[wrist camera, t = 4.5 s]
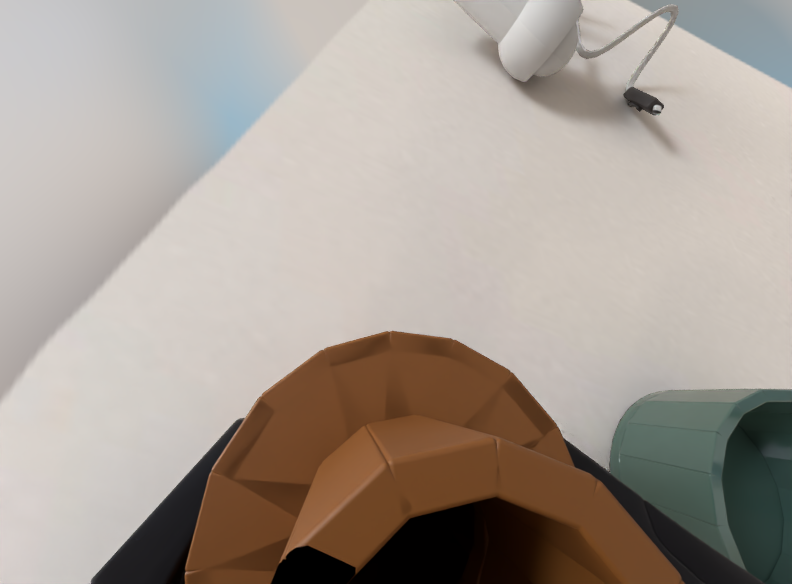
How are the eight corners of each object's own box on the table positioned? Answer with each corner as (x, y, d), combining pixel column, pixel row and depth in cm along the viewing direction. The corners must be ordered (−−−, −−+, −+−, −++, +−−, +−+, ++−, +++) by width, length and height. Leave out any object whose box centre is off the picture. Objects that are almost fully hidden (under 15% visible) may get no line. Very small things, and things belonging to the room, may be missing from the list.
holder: (802, 494, 16) (967, 530, 12) (723, 656, 13) (901, 780, 9) (669, 355, 18) (774, 342, 13) (573, 477, 15) (665, 510, 11)
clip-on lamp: (620, 95, 29) (469, -54, 26) (707, 24, 23) (527, -179, 20) (595, 175, 24) (404, 0, 20) (700, 108, 18) (458, -146, 15)
